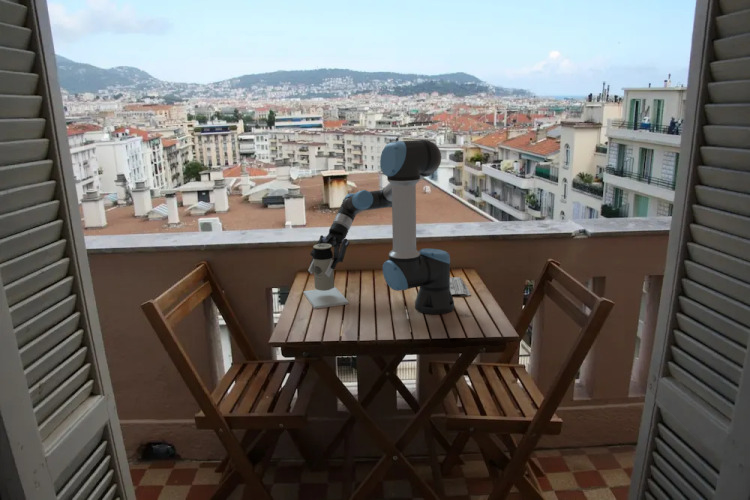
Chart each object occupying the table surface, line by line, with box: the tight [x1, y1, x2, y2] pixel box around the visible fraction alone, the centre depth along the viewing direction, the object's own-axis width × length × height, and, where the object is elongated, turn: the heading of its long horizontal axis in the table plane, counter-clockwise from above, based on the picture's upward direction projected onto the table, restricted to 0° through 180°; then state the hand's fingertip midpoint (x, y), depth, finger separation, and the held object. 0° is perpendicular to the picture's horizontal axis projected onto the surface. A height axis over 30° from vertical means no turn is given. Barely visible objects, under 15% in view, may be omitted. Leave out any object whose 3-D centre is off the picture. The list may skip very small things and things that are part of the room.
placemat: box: [303, 286, 349, 310], centre depth 229 cm, size 20×14×1 cm
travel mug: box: [312, 243, 335, 291], centre depth 226 cm, size 8×8×18 cm
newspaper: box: [450, 276, 472, 298], centre depth 239 cm, size 23×12×2 cm, turn 177°
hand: (318, 273), depth 224 cm, fingers closed on travel mug, 8 cm apart
